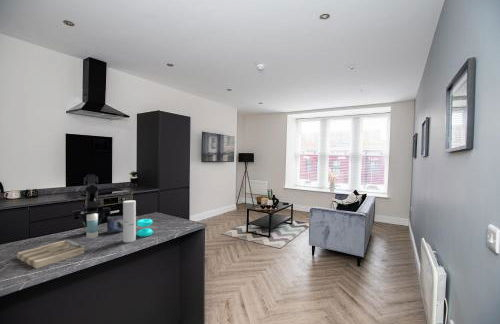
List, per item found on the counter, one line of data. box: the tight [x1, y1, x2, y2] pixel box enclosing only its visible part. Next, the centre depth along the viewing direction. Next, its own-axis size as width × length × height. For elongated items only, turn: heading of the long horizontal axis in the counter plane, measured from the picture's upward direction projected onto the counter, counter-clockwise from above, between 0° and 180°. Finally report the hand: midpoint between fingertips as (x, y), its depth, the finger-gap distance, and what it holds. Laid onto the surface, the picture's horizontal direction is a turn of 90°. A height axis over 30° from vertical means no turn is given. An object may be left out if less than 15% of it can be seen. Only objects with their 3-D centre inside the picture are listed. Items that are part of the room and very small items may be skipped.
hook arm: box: [64, 238, 81, 247], centre depth 137 cm, size 14×2×2 cm, turn 61°
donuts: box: [136, 218, 154, 238], centre depth 164 cm, size 10×10×10 cm
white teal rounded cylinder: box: [86, 213, 99, 239], centre depth 139 cm, size 6×6×13 cm
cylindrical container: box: [122, 199, 137, 243], centre depth 153 cm, size 7×7×25 cm
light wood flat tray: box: [16, 240, 85, 269], centre depth 129 cm, size 22×21×3 cm
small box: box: [106, 215, 123, 235], centre depth 170 cm, size 11×6×10 cm, turn 117°
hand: (92, 226), depth 138 cm, fingers closed on white teal rounded cylinder, 6 cm apart
